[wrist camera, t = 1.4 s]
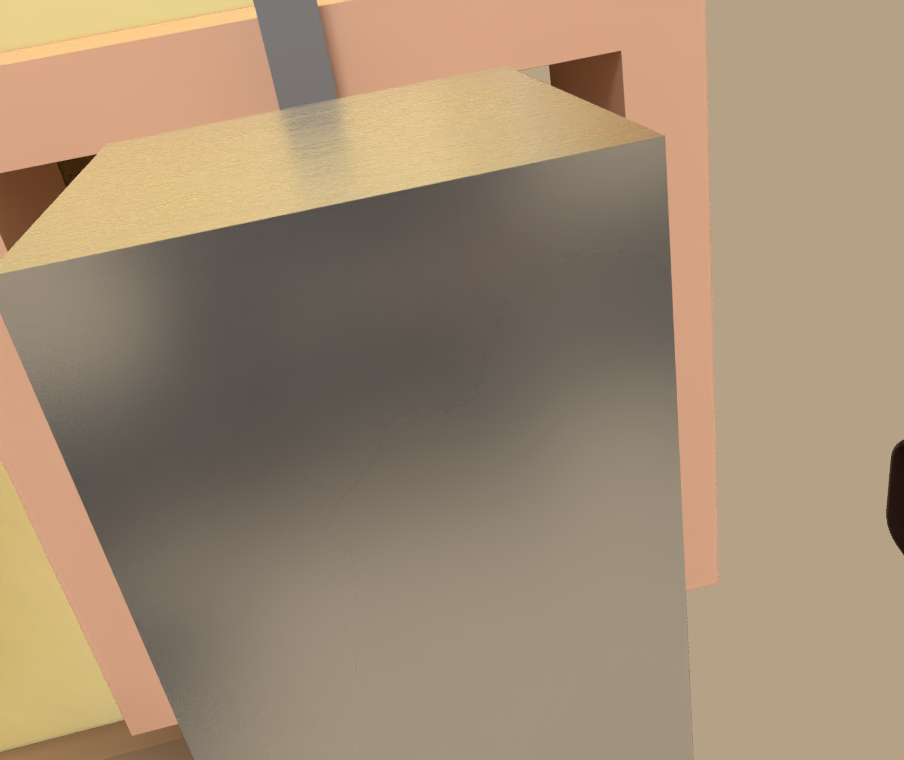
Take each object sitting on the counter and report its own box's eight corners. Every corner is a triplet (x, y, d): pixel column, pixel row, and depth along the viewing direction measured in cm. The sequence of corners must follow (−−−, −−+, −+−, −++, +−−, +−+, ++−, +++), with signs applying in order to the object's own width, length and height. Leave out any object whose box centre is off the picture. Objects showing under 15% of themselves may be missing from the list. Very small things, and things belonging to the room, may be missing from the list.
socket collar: (643, 479, 16) (730, 599, 13) (156, 600, 15) (127, 758, 12) (604, -101, 12) (720, -123, 9) (-82, 23, 11) (-218, 46, 8)
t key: (537, 482, 16) (813, 1024, 8) (262, 549, 15) (251, 1203, 7) (471, 6, 12) (870, 93, 4) (107, 75, 11) (-268, 330, 4)
